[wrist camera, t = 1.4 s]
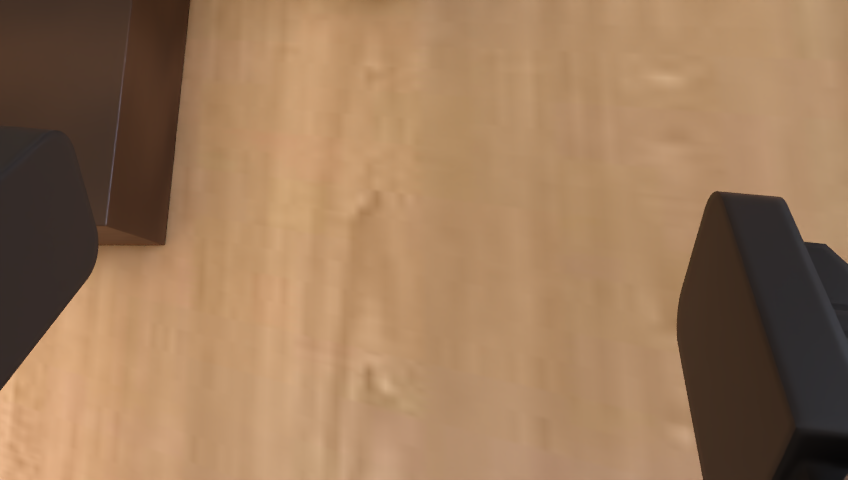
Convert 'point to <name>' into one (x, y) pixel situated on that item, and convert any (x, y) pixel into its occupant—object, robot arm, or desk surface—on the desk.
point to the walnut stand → (102, 98)
